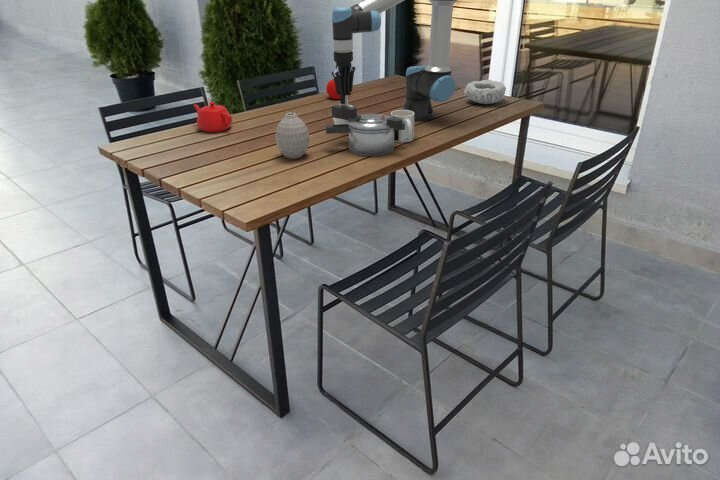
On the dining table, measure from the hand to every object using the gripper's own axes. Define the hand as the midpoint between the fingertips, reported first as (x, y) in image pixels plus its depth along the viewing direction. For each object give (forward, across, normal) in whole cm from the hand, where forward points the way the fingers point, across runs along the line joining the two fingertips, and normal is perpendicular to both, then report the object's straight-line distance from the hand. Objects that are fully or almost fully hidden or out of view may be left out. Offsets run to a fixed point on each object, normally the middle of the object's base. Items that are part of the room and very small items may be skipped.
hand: (345, 111), depth 222 cm
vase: (+13, +26, -7) cm, 29 cm away
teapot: (+13, +17, -61) cm, 65 cm away
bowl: (+13, -85, +26) cm, 90 cm away
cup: (+13, -13, -12) cm, 22 cm away
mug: (+13, -13, +20) cm, 27 cm away
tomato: (+13, -56, -45) cm, 73 cm away
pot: (+13, +4, +13) cm, 18 cm away
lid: (+2, +3, +12) cm, 12 cm away
